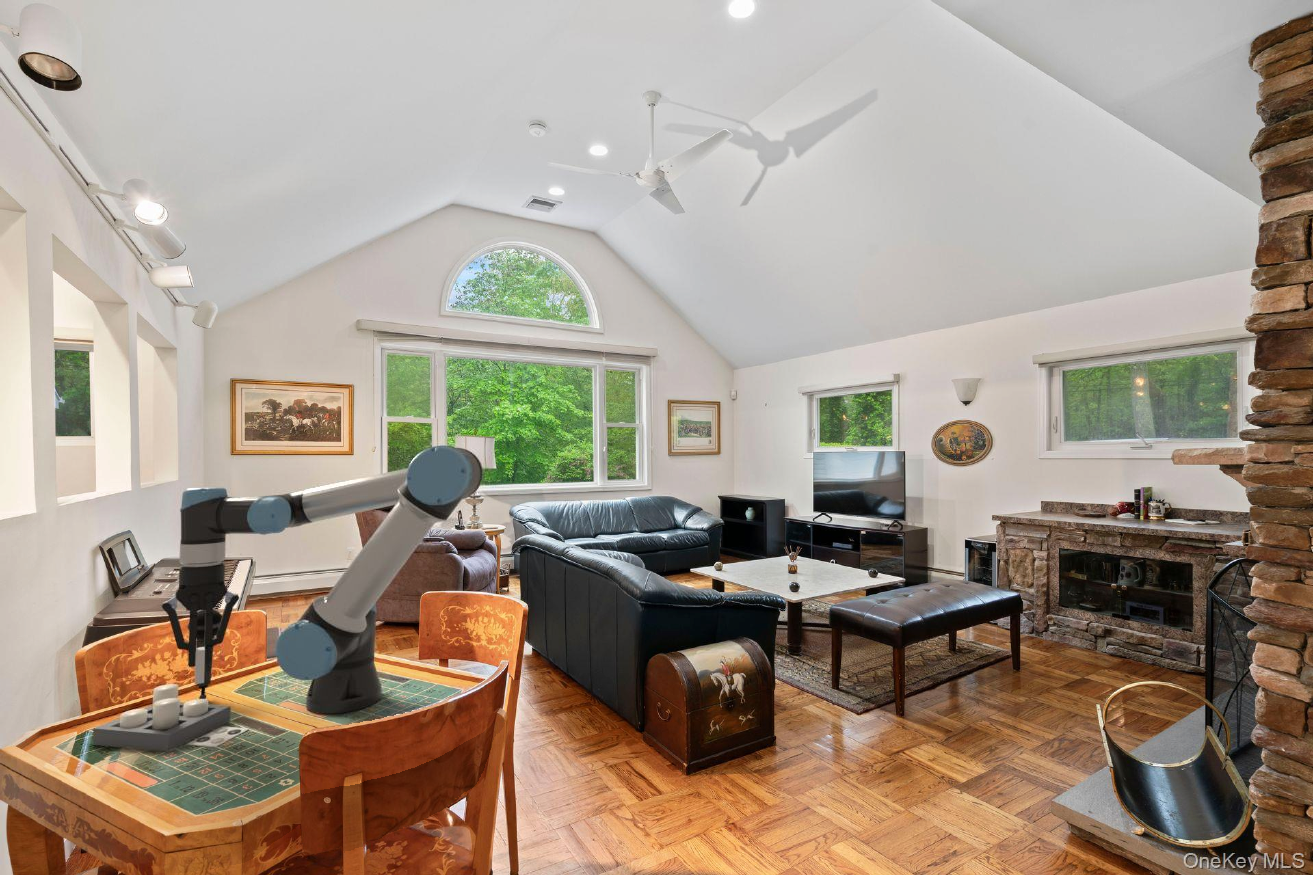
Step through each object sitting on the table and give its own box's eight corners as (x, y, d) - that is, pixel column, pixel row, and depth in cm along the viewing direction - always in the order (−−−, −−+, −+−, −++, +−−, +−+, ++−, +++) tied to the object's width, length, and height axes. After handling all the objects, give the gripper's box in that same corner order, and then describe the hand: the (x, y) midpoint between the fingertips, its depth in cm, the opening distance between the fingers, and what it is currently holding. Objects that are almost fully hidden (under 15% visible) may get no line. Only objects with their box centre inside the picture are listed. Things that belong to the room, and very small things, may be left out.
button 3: (184, 722, 121) (185, 698, 122) (165, 730, 117) (166, 706, 118) (165, 720, 122) (167, 697, 122) (146, 729, 118) (147, 704, 118)
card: (249, 729, 125) (249, 727, 125) (215, 747, 117) (215, 745, 117) (222, 727, 126) (222, 725, 126) (187, 744, 118) (187, 743, 118)
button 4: (212, 721, 128) (213, 699, 128) (195, 730, 124) (196, 706, 124) (194, 720, 128) (195, 698, 129) (177, 728, 124) (178, 705, 125)
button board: (229, 720, 129) (230, 706, 129) (167, 751, 115) (168, 734, 115) (161, 715, 131) (162, 700, 132) (92, 744, 118) (93, 728, 118)
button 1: (151, 732, 122) (152, 709, 123) (131, 741, 118) (133, 717, 119) (133, 731, 123) (135, 708, 123) (113, 740, 119) (114, 715, 119)
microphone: (215, 692, 145) (219, 604, 146) (225, 699, 141) (229, 609, 142) (179, 700, 140) (183, 609, 141) (188, 708, 135) (193, 614, 136)
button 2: (182, 707, 129) (183, 684, 129) (164, 714, 125) (165, 691, 125) (165, 705, 130) (166, 683, 130) (147, 713, 126) (148, 690, 126)
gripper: (239, 558, 135) (236, 670, 133) (162, 564, 127) (158, 683, 126) (242, 562, 129) (239, 679, 127) (161, 569, 121) (157, 694, 120)
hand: (199, 681), depth 127 cm, fingers closed
